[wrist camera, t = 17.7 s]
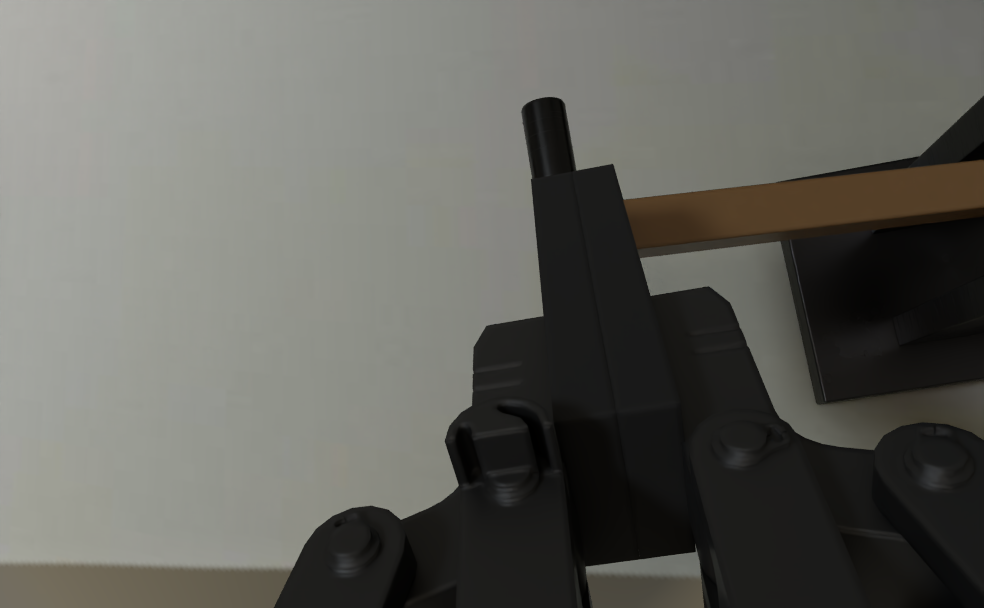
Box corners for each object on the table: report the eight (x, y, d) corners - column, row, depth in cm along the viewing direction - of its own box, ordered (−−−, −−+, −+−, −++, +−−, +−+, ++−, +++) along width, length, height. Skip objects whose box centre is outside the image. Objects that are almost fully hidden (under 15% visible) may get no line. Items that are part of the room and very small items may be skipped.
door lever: (555, 386, 18) (576, 373, 16) (514, 129, 20) (528, 82, 17) (1160, 302, 20) (1259, 279, 18) (1091, 72, 21) (1175, 22, 19)
